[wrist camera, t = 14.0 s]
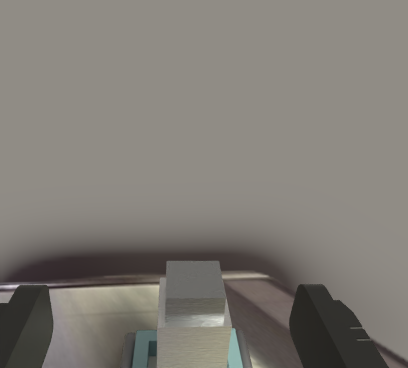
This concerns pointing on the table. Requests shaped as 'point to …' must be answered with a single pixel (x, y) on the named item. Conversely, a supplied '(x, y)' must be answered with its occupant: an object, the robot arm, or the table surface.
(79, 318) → the table surface
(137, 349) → the tray
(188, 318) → the stepped metal tower
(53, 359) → the table surface
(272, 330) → the table surface
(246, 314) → the table surface
